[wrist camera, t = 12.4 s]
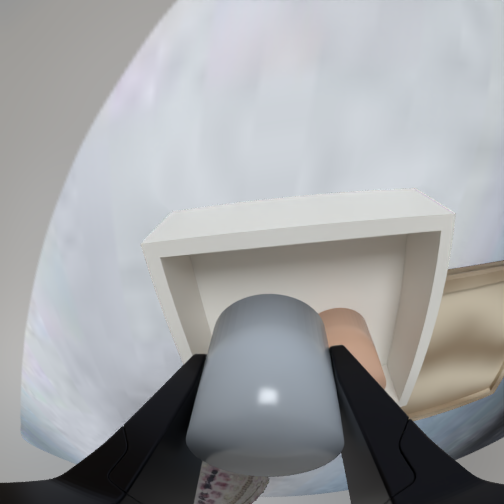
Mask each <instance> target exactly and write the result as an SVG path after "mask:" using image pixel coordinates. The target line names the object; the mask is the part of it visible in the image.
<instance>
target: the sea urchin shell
mask: <svg viewBox="0 0 504 504" xmlns="http://www.w3.org/2000/svg"><path fill="white" fill-rule="evenodd" d="M268 483H269V478H268V477H262V476H250V475H243V474H237V473H233V472H229V471H225V470H222V469H219V468H216V467H214V466H212V465H209V464H207V463H206V462H204V461H202V466H201V471H200V476H199V481H198V485H197V490H196V495H195V500H194V504H252V503H253V502H254V501H256V499H257V498H258V497H259V496H260V495H261V494H262V493H264V490H265V488H266V487H267V484H268Z"/></svg>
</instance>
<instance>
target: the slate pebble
mask: <svg viewBox="0 0 504 504" xmlns="http://www.w3.org/2000/svg"><path fill="white" fill-rule="evenodd" d="M186 444H187V446H188V448H189V450H190V451H191V452H192V453H193V454H194V455H195V456H196V457H198V458H199V459H201V460H202V461H204V462H206V463H207V464H209V465H212V466H214V467H216V468H219V469H222V470H225V471H229V472H233V473H237V474H243V475H250V476H262V477H274V476H287V475H294V474H299V473H304V472H307V471H311V470H314V469H317V468H319V467H321V466H324V465H326V464H327V463H329V462H331V461H332V460H334V459H335V458H336V457H337V456H338V455H339V454H340V453H341V451H342V450H343V447H344V436H343V429H342V422H341V415H340V409H339V402H338V396H337V390H336V384H335V379H334V373H333V367H332V362H331V356H330V351H329V345H328V340H327V334H326V329H325V326H324V323H323V321H322V319H321V317H320V316H319V314H318V313H317V312H316V311H315V310H314V309H313V308H312V307H310V306H309V305H308V304H306V303H304V302H302V301H300V300H298V299H296V298H293V297H289V296H285V295H280V294H260V295H253V296H249V297H246V298H243V299H241V300H238V301H236V302H235V303H233V304H231V305H230V306H228V307H227V308H226V309H225V310H224V311H223V312H222V313H221V314H220V316H219V317H218V319H217V321H216V323H215V326H214V330H213V334H212V337H211V341H210V345H209V349H208V353H207V356H206V360H205V364H204V368H203V372H202V376H201V380H200V383H199V387H198V391H197V395H196V399H195V403H194V407H193V411H192V415H191V419H190V423H189V427H188V431H187V435H186Z"/></svg>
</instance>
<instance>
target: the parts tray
mask: <svg viewBox="0 0 504 504" xmlns="http://www.w3.org/2000/svg"><path fill="white" fill-rule="evenodd" d="M503 377H504V260H502V261H497V262H491V263H485V264H480V265H474V266H467V267H461V268H455V269H448V271H447V276H446V281H445V285H444V290H443V295H442V299H441V303H440V307H439V311H438V315H437V319H436V322H435V326H434V329H433V333H432V336H431V340H430V343H429V346H428V349H427V352H426V355H425V358H424V361H423V364H422V367H421V370H420V372H419V375H418V378H417V380H416V383H415V386H414V388H413V391H412V393H411V396H410V398H409V400H408V403H407V405H406V406H402V407H401V409H402V410H403V411H404V412H405V413H406V414H407V415H408V416H409V419H412V421H416V420H420V419H423V418H427V417H430V416H433V415H437V414H440V413H443V412H446V411H449V410H452V409H455V408H458V407H461V406H463V405H466V404H469V403H471V402H474V401H477V400H479V399H482V398H484V397H486V396H489V395H491V394H493V393H494V392H495V390H496V389H497V387H498V385H499V384H500V382H501V380H502V379H503ZM409 419H408V420H409Z"/></svg>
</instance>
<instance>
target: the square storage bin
mask: <svg viewBox="0 0 504 504" xmlns="http://www.w3.org/2000/svg"><path fill="white" fill-rule="evenodd" d="M455 215H456V214H455V213H454V212H453V211H451V210H449V209H448V208H446V207H445V206H443V205H442V204H440V203H439V202H437V201H436V200H434V199H432V198H431V197H429V196H428V195H426V194H424V193H423V192H421V191H419V190H418V189H416V188H402V189H382V190H365V191H350V192H337V193H324V194H312V195H301V196H291V197H281V198H271V199H262V200H253V201H245V202H236V203H228V204H220V205H213V206H205V207H198V208H191V209H184V210H177V211H172V212H171V213H170V214H169V215H168V216H167V217H166V218H165V219H164V220H163V221H162V222H161V223H160V224H159V225H158V226H157V227H156V228H155V229H154V230H153V231H152V232H151V233H150V234H149V235H148V236H147V237H146V238H145V240H144V241H143V242H142V243H141V247H142V250H143V254H144V257H145V260H146V263H147V266H148V270H149V273H150V276H151V279H152V282H153V285H154V288H155V291H156V294H157V297H158V299H159V302H160V305H161V308H162V311H163V313H164V316H165V319H166V322H167V324H168V327H169V329H170V332H171V335H172V337H173V340H174V342H175V345H176V347H177V350H178V352H179V355H180V357H181V360H182V362H183V364H185V363H186V362H187V361H188V360H189V359H190V358H191V357H192V356H193V355H194V354H207V353H208V349H209V345H210V341H211V337H212V334H213V330H214V326H215V323H216V321H217V319H218V317H219V316H220V314H221V313H222V312H223V311H224V310H225V309H226V308H227V307H228V306H230V305H231V304H233V303H235V302H236V301H238V300H241V299H243V298H246V297H249V296H253V295H260V294H280V295H285V296H289V297H293V298H296V299H298V300H300V301H302V302H304V303H306V304H308V305H309V306H310V307H312V308H313V309H314V310H315V311H316V312H317V313H320V312H323V311H325V310H328V309H333V308H348V309H352V310H354V311H356V312H358V313H360V314H361V315H362V316H363V318H364V319H365V321H366V324H367V326H368V329H369V332H370V334H371V337H372V340H373V343H374V345H375V348H376V351H377V354H378V357H379V360H380V363H381V366H382V369H383V372H384V375H385V378H386V388H385V391H386V392H387V393H388V394H389V395H390V396H391V398H392V399H393V400H394V401H395V402H396V403H397V404H398V405H399V406H400V407H402V406H406V405H407V403H408V400H409V398H410V396H411V393H412V391H413V388H414V386H415V383H416V380H417V378H418V375H419V372H420V370H421V367H422V364H423V361H424V358H425V355H426V352H427V349H428V346H429V343H430V340H431V336H432V333H433V329H434V326H435V322H436V319H437V315H438V311H439V307H440V303H441V299H442V295H443V290H444V285H445V281H446V276H447V271H448V265H449V259H450V253H451V247H452V240H453V233H454V224H455Z"/></svg>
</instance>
